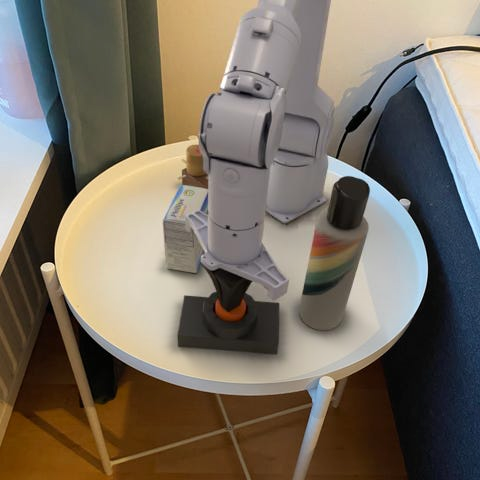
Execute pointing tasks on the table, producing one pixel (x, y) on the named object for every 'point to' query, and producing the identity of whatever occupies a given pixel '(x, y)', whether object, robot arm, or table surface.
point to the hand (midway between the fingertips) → (230, 305)
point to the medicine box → (183, 229)
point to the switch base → (229, 326)
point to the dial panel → (194, 179)
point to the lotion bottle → (335, 254)
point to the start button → (233, 314)
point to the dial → (194, 161)
